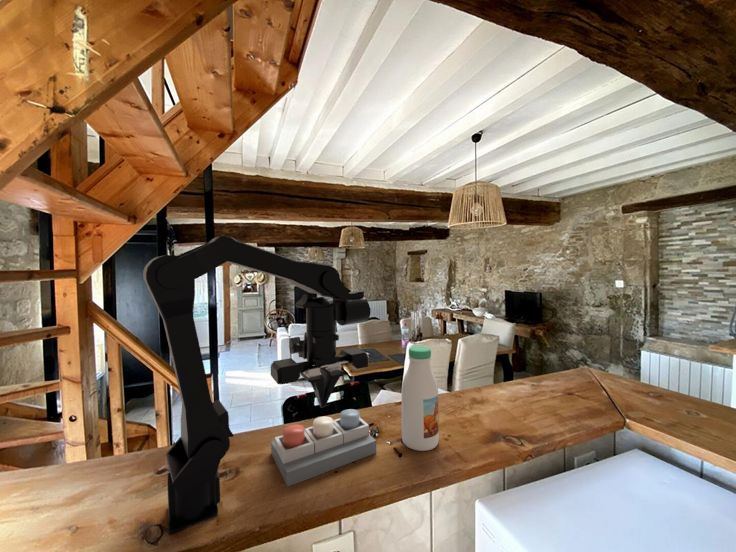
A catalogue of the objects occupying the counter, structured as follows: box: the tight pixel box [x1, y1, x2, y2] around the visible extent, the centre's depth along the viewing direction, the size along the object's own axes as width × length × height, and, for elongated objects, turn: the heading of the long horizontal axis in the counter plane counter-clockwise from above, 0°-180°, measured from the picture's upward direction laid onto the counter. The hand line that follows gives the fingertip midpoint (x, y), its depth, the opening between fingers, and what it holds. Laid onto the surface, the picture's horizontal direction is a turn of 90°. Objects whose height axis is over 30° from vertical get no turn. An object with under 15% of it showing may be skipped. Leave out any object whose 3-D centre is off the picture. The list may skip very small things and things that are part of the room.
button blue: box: [339, 408, 361, 430], centre depth 66 cm, size 4×4×2 cm
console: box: [270, 417, 377, 487], centre depth 63 cm, size 18×11×4 cm, turn 121°
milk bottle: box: [401, 345, 440, 452], centre depth 66 cm, size 8×8×20 cm
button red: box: [282, 424, 305, 449], centre depth 60 cm, size 4×4×2 cm
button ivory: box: [312, 415, 334, 439], centre depth 63 cm, size 4×4×2 cm
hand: (322, 406), depth 63 cm, fingers closed
